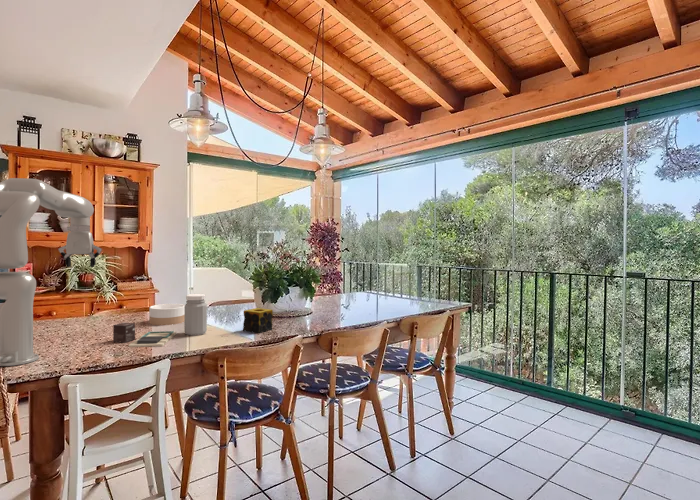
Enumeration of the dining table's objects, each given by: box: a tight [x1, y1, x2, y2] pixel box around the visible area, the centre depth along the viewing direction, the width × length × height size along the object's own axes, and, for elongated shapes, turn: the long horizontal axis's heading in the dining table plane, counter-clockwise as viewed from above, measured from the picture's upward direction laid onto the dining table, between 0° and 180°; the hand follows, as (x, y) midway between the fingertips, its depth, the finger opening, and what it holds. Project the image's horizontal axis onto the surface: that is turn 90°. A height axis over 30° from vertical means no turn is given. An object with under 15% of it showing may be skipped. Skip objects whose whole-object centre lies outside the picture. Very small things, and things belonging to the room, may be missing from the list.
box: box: [112, 322, 136, 344], centre depth 177 cm, size 6×6×7 cm
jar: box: [183, 293, 208, 337], centre depth 192 cm, size 10×10×18 cm
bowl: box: [148, 303, 186, 326], centre depth 218 cm, size 17×17×8 cm
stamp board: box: [128, 330, 177, 348], centre depth 179 cm, size 22×13×2 cm, turn 9°
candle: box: [242, 307, 274, 334], centre depth 201 cm, size 10×10×10 cm
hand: (80, 266), depth 190 cm, fingers open, 9 cm apart
